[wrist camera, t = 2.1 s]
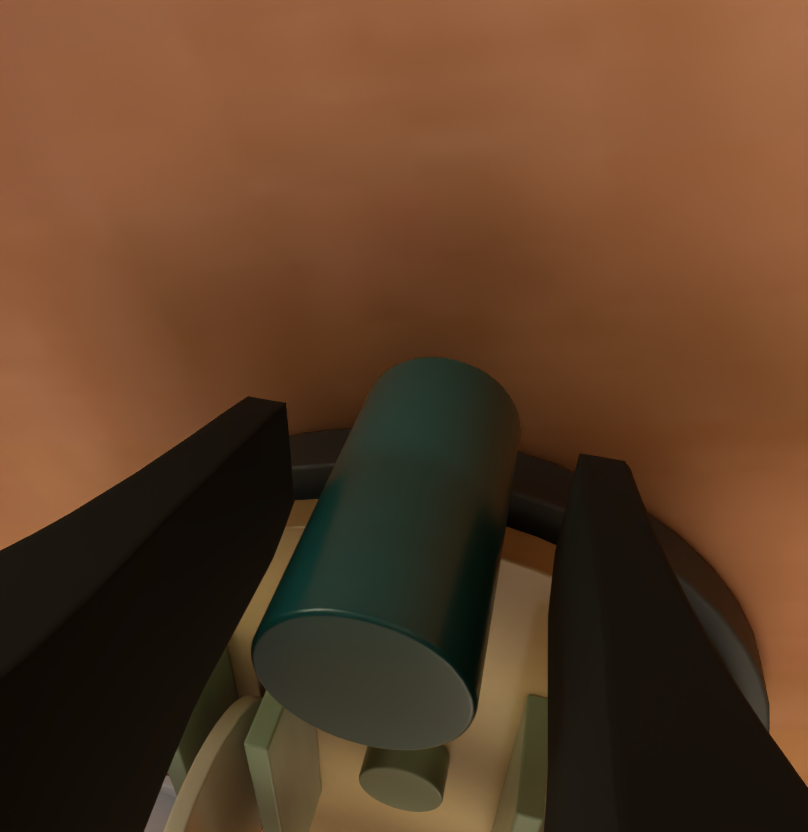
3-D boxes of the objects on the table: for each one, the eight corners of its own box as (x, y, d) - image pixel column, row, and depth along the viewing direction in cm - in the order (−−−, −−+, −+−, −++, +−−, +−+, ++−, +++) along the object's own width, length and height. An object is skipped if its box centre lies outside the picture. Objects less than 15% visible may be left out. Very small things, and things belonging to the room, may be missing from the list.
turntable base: (659, 861, 22) (661, 904, 21) (197, 741, 25) (181, 774, 24) (893, 509, 12) (917, 559, 11) (85, 369, 15) (50, 402, 14)
